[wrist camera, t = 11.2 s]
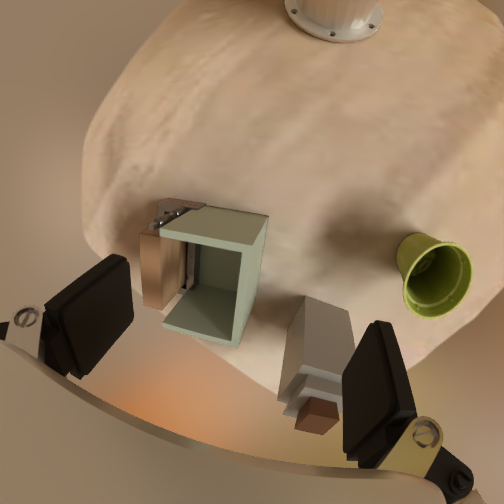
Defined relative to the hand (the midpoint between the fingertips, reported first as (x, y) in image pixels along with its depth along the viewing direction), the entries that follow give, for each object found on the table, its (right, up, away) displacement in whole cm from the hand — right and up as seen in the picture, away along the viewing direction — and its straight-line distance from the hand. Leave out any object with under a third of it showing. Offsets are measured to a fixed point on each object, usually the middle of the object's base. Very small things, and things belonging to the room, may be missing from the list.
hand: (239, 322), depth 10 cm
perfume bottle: (+10, -7, +28) cm, 31 cm away
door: (-9, +4, +28) cm, 29 cm away
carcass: (-3, +2, +27) cm, 27 cm away
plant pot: (+22, +2, +22) cm, 32 cm away
